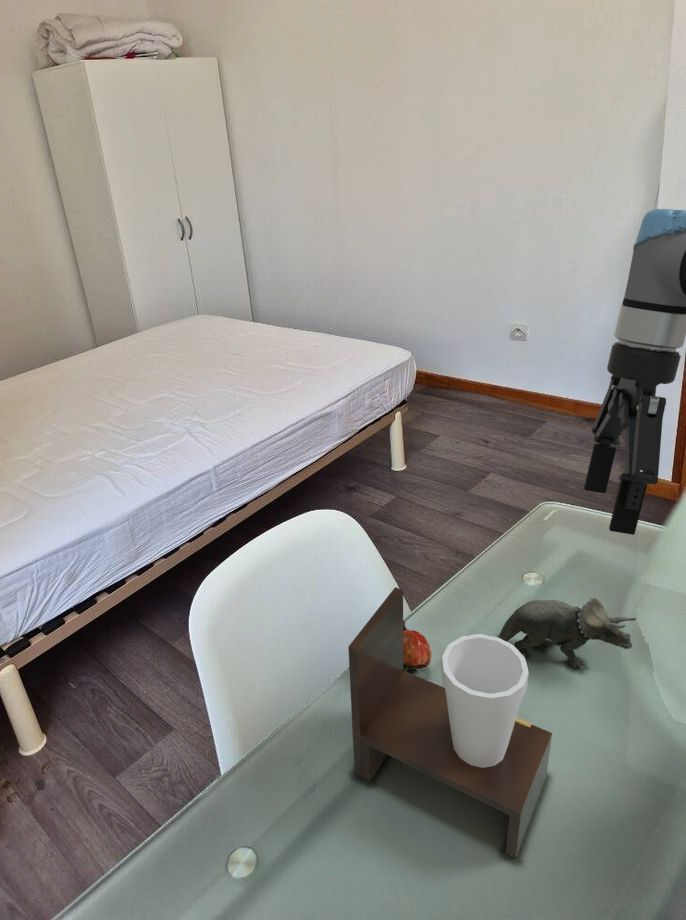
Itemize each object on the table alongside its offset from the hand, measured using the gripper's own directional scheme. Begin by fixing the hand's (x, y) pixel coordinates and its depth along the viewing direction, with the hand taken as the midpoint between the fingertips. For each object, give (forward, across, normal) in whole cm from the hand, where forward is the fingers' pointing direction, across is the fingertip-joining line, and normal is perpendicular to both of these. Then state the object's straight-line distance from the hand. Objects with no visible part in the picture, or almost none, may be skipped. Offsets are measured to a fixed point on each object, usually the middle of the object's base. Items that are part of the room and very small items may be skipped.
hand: (606, 510), depth 87 cm
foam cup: (+27, -14, +12) cm, 33 cm away
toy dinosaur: (+29, +11, 0) cm, 31 cm away
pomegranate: (+33, +5, +21) cm, 39 cm away
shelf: (+35, -12, +14) cm, 39 cm away
